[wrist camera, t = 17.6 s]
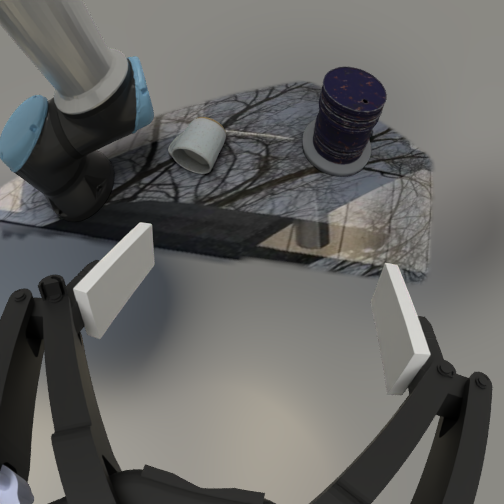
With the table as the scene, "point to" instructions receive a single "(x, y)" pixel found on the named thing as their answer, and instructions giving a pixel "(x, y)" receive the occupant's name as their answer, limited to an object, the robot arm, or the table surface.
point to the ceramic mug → (198, 145)
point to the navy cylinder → (347, 114)
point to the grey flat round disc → (329, 166)
